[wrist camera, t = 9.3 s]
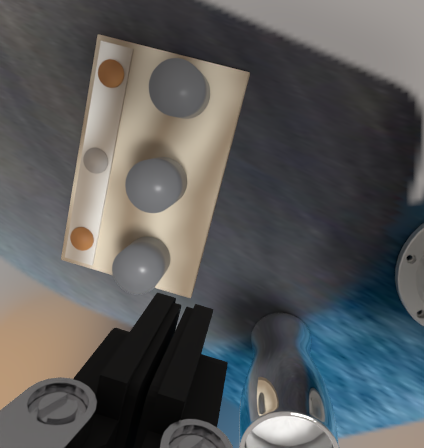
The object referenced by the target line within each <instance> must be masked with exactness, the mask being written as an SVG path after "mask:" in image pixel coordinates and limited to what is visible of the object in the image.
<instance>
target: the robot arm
mask: <svg viewBox="0 0 424 448" xmlns="http://www.w3.org/2000/svg"><path fill="white" fill-rule="evenodd" d="M409 255H411V256H410V258H408V259H406V258H407V256H409ZM395 283H396V288H397V293H398V295H399V298H400V300H401V302H402V304H403V305H404V307H405V308H406V310H407V311H408V312H409V314H410V315H411V316H412V317H413V318H414V319H415V320H416V321H417V322H418V323H419V324H421V325H422V326H423V327H424V223H423V224H421V225H420V226H419V227H418V228H417V229H416V230H415V231H414V232H413V233H412V234H411V235H410V237H409V238H408V239H407V241H406V242H405V244H404V245H403V247H402V249H401V252H400V254H399V256H398V259H397V264H396V268H395ZM175 301H176V298H174V297H171V296H167V295H164V294H160V293H157V294H156V295H155V296H154V298H153V299H152V301H151V302H150V304H149V305H148V307H147V308H146V309H145V311H144V312H143V314H142V315H141V317H140V318H139V320H138V321H137V322H136V324H135V325H134V327H133V328H132V330H131V331H130V332H128V331H125V330H121V329H118V328H114V329H113V330H112V331H111V332H110V333H109V334H108V336H107V337H106V338H105V340H104V341H103V342H102V343H101V344H100V346H99V347H98V348H97V349H96V351H95V352H94V353H93V355H92V356H91V357H90V358H89V360H88V361H87V362H86V363H85V365H84V366H83V367H82V369H81V370H80V371H79V372H78V373H77V375H76V376H75V377H74V379H70V378H52V379H47V380H44V381H40V382H38V383H36V384H34V385H33V386H31V387H29V388H28V389H27V390H25V391H24V392H23V393H22V394H20V395H19V396H18V397H17V398H15V399H14V400H13V401H12V402H10V403H9V404H8V405H7V406H5V407H4V408H3V409H2V410H0V448H233V447H232V444H231V443H230V441H229V439H228V438H227V436H226V435H225V434H224V433H223V432H222V431H221V430H220V429H218V428H217V424H218V418H219V411H220V406H221V400H222V394H223V388H224V382H225V376H226V370H227V364H228V363H227V362H225V361H222V360H218V359H215V358H212V357H209V356H205V355H202V354H201V352H202V349H203V345H204V342H205V338H206V334H207V331H208V327H209V324H210V320H211V317H212V313H213V309H211V308H207V307H204V306H201V305H197V304H195V306H194V308H189V307H186V309H185V311H184V314H183V316H182V318H181V320H180V322H179V324H178V326H177V329H176V325H177V321H178V317H179V313H180V309H181V305H180V304H176V303H175ZM419 310H420V312H418V311H419ZM175 329H176V331H175Z"/></svg>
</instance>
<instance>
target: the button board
mask: <svg viewBox="0 0 424 448" xmlns="http://www.w3.org/2000/svg"><path fill="white" fill-rule="evenodd" d="M171 58H181V59H184V60H187V61H189V62H190V63H192V64H193V65H194V66H195V67H196V68H197V69H198V70H199V71H200V72H201V73H202V74H203V75H204V76H205V77H206V79H207V81H208V83H209V86H210V100H209V103H208V105H207V107H206V108H205V110H204V111H203V112H202V113H201V114H199V115H198V116H196V117H194V118H190V119H183V118H178V117H173V116H168V115H166V114H164V113H162V112H161V111H159V110H158V109H157V108H156V107H155V105H154V104H153V102H152V100H151V98H150V94H149V80H150V77H151V74H152V72H153V71H154V69H155V68H156V67H157V66H158V65H159V64H160V63H161V62H163V61H165V60H167V59H171ZM249 76H250V72H246V71H242V70H238V69H234V68H230V67H226V66H222V65H218V64H214V63H210V62H206V61H202V60H198V59H194V58H190V57H186V56H182V55H178V54H174V53H171V52H167V51H163V50H159V49H155V48H151V47H147V46H143V45H139V44H135V43H131V42H127V41H123V40H119V39H115V38H111V37H107V36H103V35H99V34H98V36H97V43H96V49H95V55H94V61H93V67H92V73H91V79H90V85H89V91H88V98H87V104H86V110H85V116H84V122H83V128H82V134H81V140H80V146H79V152H78V159H77V165H76V171H75V177H74V183H73V189H72V195H71V201H70V207H69V213H68V220H67V226H66V232H65V238H64V244H63V250H62V256H61V260H64V261H68V262H71V263H74V264H78V265H81V266H84V267H88V268H91V269H94V270H98V271H101V272H104V273H108V274H111V275H113V274H112V264H113V261H114V259H115V257H116V256H117V255H118V254H119V253H120V252H121V251H122V250H124V249H125V248H126V247H127V246H129V245H130V244H131V243H132V242H134V241H135V240H136V239H138V238H141V237H146V236H149V237H154V238H157V239H159V240H160V241H162V242H163V243H164V244H165V245H166V247H167V248H168V250H169V253H170V265H169V268H168V270H167V271H166V273H165V274H164V275H163V277H162V278H161V279H160V281H159V282H158V284H157V285H156V286H155V288H158V289H161V290H165V291H168V292H171V293H175V294H178V295H181V296H185V297H188V298H191V296H192V293H193V289H194V286H195V282H196V278H197V274H198V270H199V267H200V263H201V259H202V255H203V251H204V248H205V244H206V240H207V236H208V232H209V228H210V225H211V221H212V217H213V213H214V209H215V206H216V202H217V198H218V194H219V190H220V187H221V183H222V179H223V175H224V171H225V168H226V164H227V160H228V156H229V152H230V148H231V145H232V141H233V137H234V133H235V129H236V126H237V122H238V118H239V114H240V110H241V107H242V103H243V99H244V95H245V91H246V88H247V84H248V80H249ZM158 157H168V158H171V159H174V160H175V161H177V162H178V163H179V164H180V165H181V166H182V167H183V169H184V171H185V173H186V176H187V188H186V191H185V193H184V195H183V196H182V197H181V199H179V200H178V201H177V202H176V203H174V204H173V205H171V206H170V207H169V208H167V209H166V210H164V211H162V212H159V213H147V212H144V211H141V210H139V209H138V208H136V207H135V206H134V205H133V204H132V203H131V201H130V200H129V198H128V196H127V193H126V188H125V182H126V177H127V174H128V172H129V171H130V169H131V168H132V167H133V166H134V165H135V164H137V163H138V162H140V161H143V160H148V159H153V158H158Z"/></svg>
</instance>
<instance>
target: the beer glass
mask: <svg viewBox="0 0 424 448" xmlns="http://www.w3.org/2000/svg"><path fill="white" fill-rule="evenodd" d="M311 343H312V341H311V334H310V332H309V329H308V328H307V326H306V325H305V323H304V322H303V321H302V320H300V319H299V318H297V317H296V316H294V315H291V314H288V313H272V314H269V315H267V316H265V317H263V318H261V319H260V320H259V321H258V322H257V323H256V325H255V326H254V328H253V330H252V334H251V345H252V349H253V353H254V358H253V361H252V363H251V366H250V368H249V371H248V374H247V376H246V379H245V383H244V386H243V390H242V396H241V403H240V420H239V421H240V423H239V427H240V428H239V431H240V446H239V448H339V443H338V434H337V427H336V420H335V415H334V410H333V405H332V402H331V398H330V395H329V392H328V389H327V387H326V384H325V382H324V380H323V378H322V376H321V374H320V372H319V370H318V368H317V366H316V365H315V363H314V361H313V359H312V357H311V355H310V352H311Z"/></svg>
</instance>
